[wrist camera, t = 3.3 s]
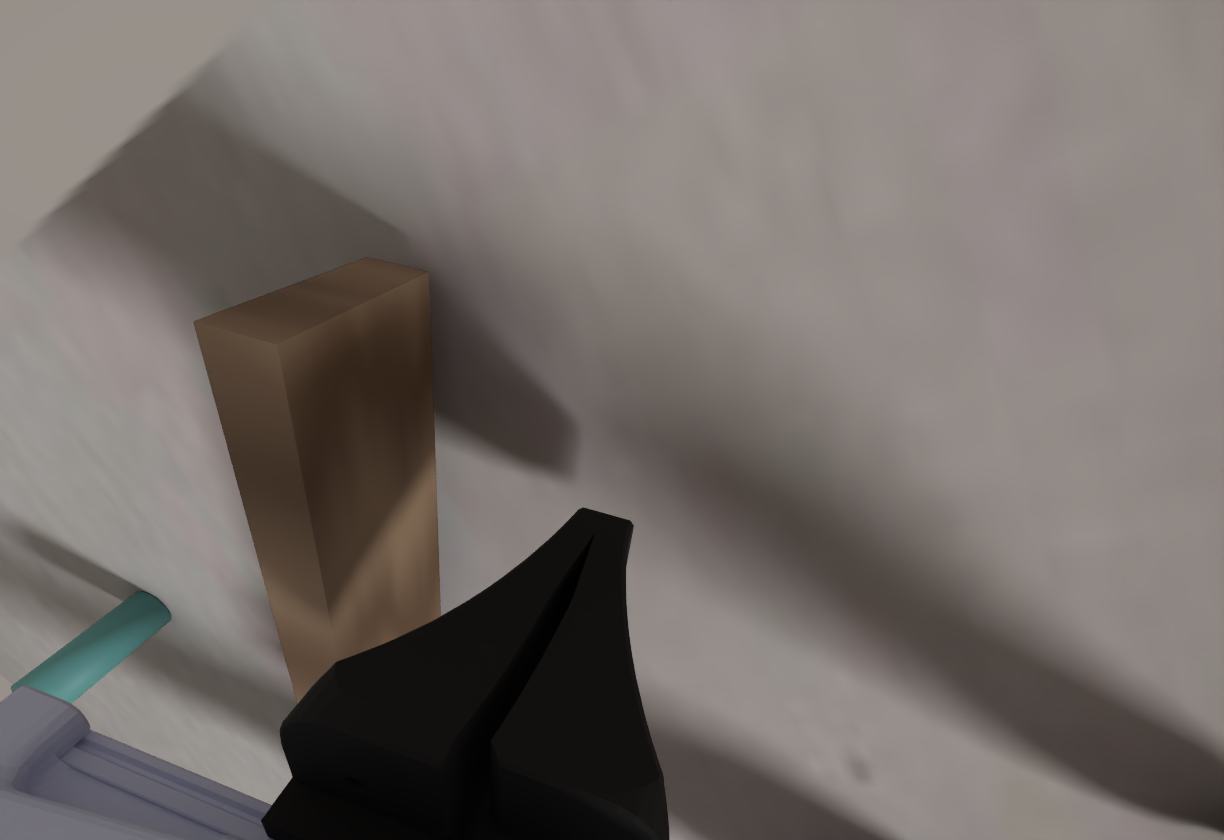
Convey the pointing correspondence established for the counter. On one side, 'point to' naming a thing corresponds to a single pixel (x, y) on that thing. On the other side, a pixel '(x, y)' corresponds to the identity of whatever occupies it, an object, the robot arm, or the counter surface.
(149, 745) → the counter surface
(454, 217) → the counter surface
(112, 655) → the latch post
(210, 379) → the wooden plank
